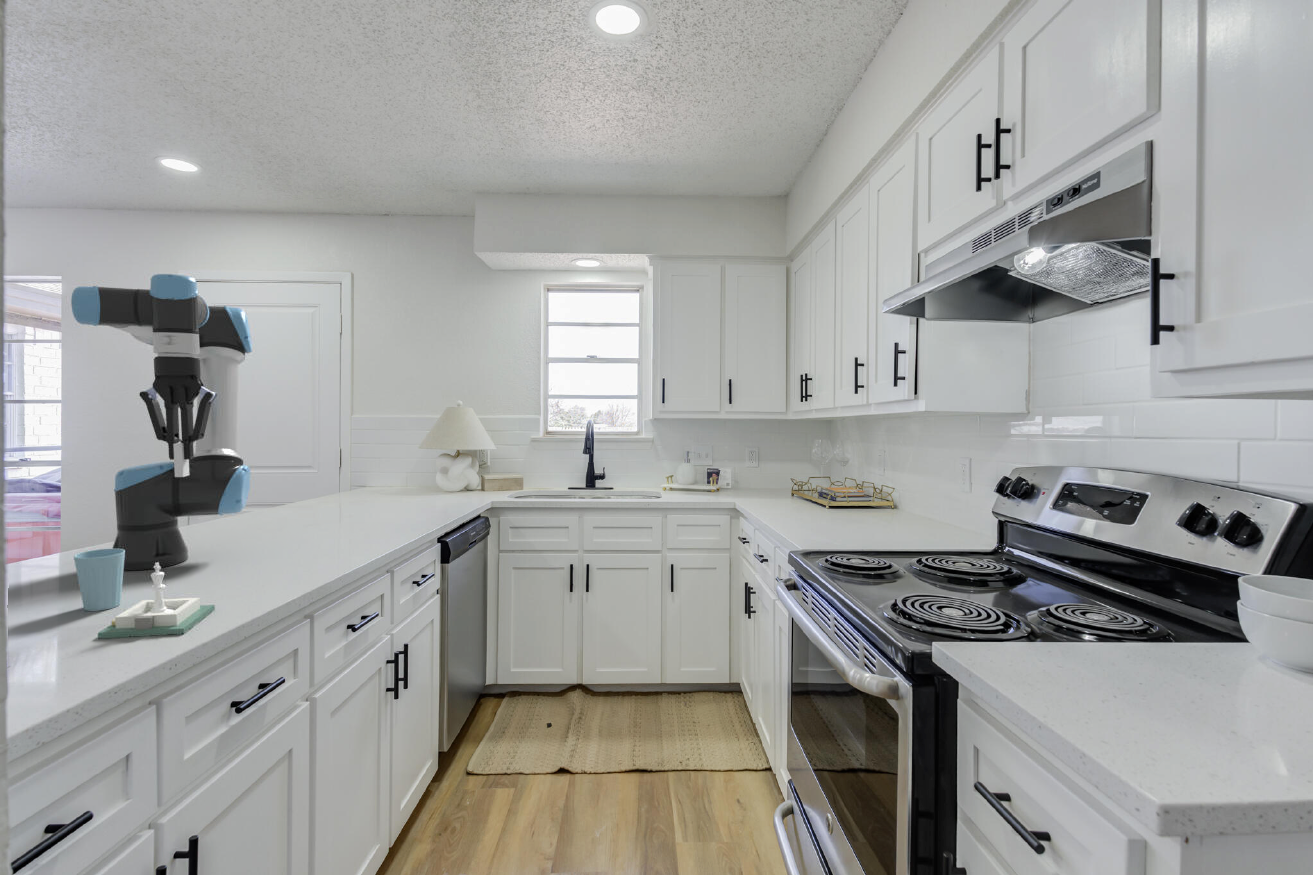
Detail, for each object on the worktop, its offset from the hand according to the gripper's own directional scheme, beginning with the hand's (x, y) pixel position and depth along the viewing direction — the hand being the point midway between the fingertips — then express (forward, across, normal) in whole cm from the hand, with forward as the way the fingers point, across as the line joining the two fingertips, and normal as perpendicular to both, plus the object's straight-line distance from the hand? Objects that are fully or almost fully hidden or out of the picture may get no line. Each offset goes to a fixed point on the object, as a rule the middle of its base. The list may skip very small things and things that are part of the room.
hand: (182, 475), depth 141 cm
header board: (+24, +2, -16) cm, 29 cm away
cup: (+25, -13, -4) cm, 28 cm away
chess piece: (+24, +2, -16) cm, 29 cm away
